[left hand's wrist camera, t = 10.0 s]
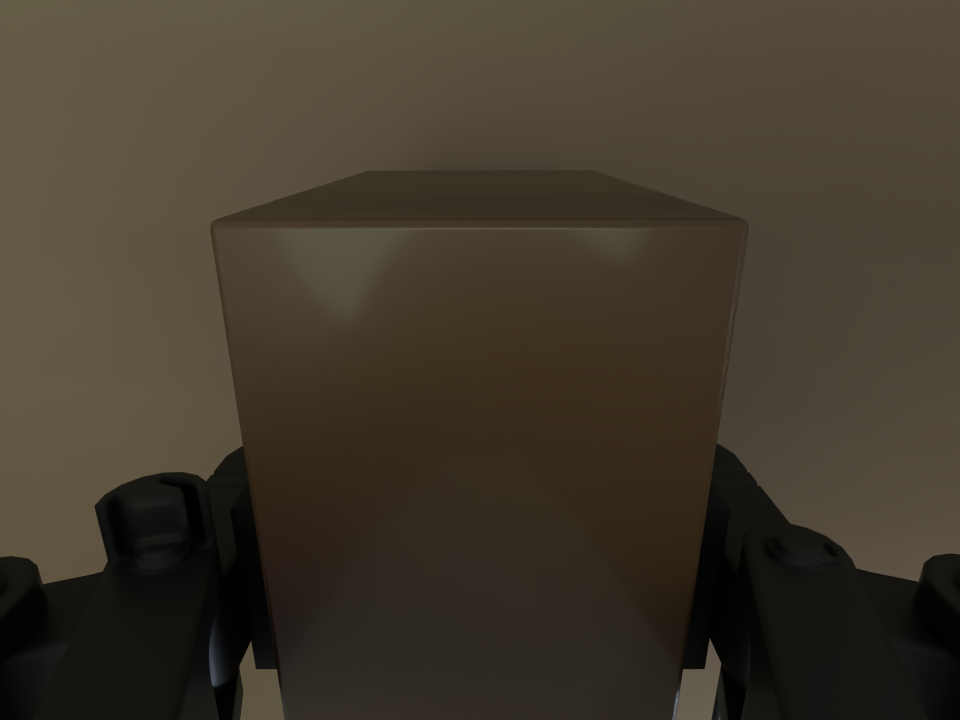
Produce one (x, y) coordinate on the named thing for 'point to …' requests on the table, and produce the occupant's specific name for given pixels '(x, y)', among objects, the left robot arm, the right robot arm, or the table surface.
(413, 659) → the block
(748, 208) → the table surface
